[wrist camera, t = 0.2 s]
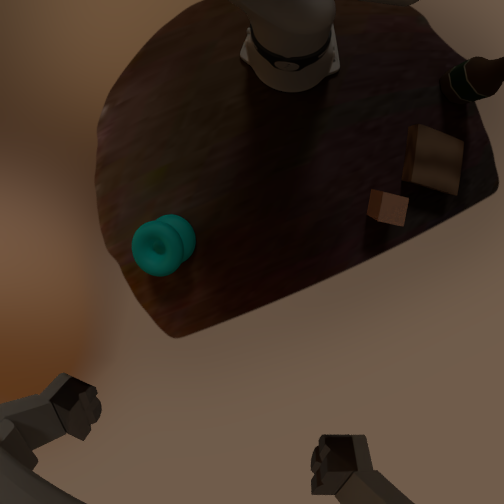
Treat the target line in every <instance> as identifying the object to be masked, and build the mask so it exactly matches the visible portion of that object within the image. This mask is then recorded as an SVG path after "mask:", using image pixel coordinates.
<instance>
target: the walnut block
mask: <svg viewBox="0 0 504 504" xmlns="http://www.w3.org/2000/svg"><path fill="white" fill-rule="evenodd" d="M463 149H464V141H461V140H459V139H457V138H455V137H452V136H450V135H447V134H445V133H442V132H440V131H437V130H435V129H432V128H429V127H427V126H424V125H421V124H415V125H412V126H409V128H408V137H407V146H406V153H405V161H404V168H403V174H402V181H406V182H409V183H413V184H416V185H420V186H423V187H426V188H430V189H433V190H436V191H439V192H442V193H445V194H450V195H455V196H457V194H458V188H459V182H460V175H461V167H462V159H463Z"/></svg>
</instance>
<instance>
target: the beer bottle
mask: <svg viewBox="0 0 504 504" xmlns="http://www.w3.org/2000/svg"><path fill="white" fill-rule="evenodd" d="M503 81H504V57H502V58H499V59H495V60H488V59H485V58H483V57H473V58H471V59H469V60H467V61H465V62H463V63H461V64H459V65H457V66H455V67H454V68H452V69H450V70H448V71H447V72H446V73H445V74H444V75H443V76H442V77H441V78H440V85H441V92H442V93H443V94H444V95H445V96H446V98H447V99H448V100H449V101H450V102H452V103H457V104H466V103H469V102H473V101H476V100H480V99H483V98H487V97H490V96H492V95H494V94H495V93H496V92H497V91H498V89H499V88H500V86H501V85H502V82H503Z"/></svg>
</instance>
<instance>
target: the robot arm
mask: <svg viewBox="0 0 504 504" xmlns="http://www.w3.org/2000/svg"><path fill="white" fill-rule="evenodd" d="M228 1H230V2H231V3H233V4H235V5H236V6H238V7H239V8H240V9H242V10H243V11H244V12H245V13H246V14H247V15H248V18H249V20H250V22H251V24H250V28H248V29H247V34H248V35H247V38H246V40H245V42H244V45H243V47H242V49H241V52H240V57H241V59H242V60H243V61H245V62H246V63H248V64H249V65H250V66H251V67H252V68H253V70H254V71H255V73H256V75H257V76H258V77H259V79H260V80H261V81H262V82H264V83H265V84H266V85H268V86H270V87H271V88H274V89H276V90H279V91H284V92H301V91H305V90H308V89H310V88H312V87H314V86H315V85H317V84H318V83H319V82H320V81H321V80H322V79H323V78H324V77H326V76H328V75H331V74H333V73H336V72H337V71H339V69H340V62H339V55H338V49H337V43H336V37H335V31H334V26H333V21H334V18H335V14H336V6H335V2H334V0H228ZM359 1H367V2H375V3H382V4H390V5H397V6H409V5H411V4H414V3H415V2H417V1H419V0H359ZM333 60H334V61H335V62H333ZM96 395H97V390H96V387H94V386H92V385H90V384H87V383H85V382H83V381H80V380H79V379H76V378H74V377H72V376H70V375H68V374H66V373H61V374H59V375H58V376H57V377H56V378H55V379H54V380H53V382H52V383H51V384H50V385H49V386H48V387H47V388H46V389H45V390H44V391H43V392H42V393H41V394H40V395H38V394H35V395H31V396H28V397H25V398H21V399H17V400H14V401H10V402H6V403H2V404H0V504H86V503H84V502H82V501H80V500H79V499H77V498H75V497H73V496H71V495H70V494H67V493H66V492H64V491H63V490H61V489H59V488H57V487H56V486H54V485H53V484H51V483H49V482H48V481H46V480H45V479H43V478H42V477H40V476H39V475H37V474H36V473H34V472H33V471H32V470H33V469H34V467H35V466H36V465H37V463H38V459H37V457H36V456H35V454H34V453H33V452H32V450H34V449H36V448H38V447H40V446H42V445H44V444H47V443H48V442H51V441H53V440H54V439H57V438H59V437H61V436H63V435H65V434H66V433H68V434H70V435H72V436H74V437H76V438H78V439H80V440H82V441H84V440H85V438H86V437H87V435H88V434H89V432H90V431H91V424H93V423H96V422H97V420H98V419H99V417H100V414H101V410H102V409H101V402H100V401H99V399H98V398H97V397H96ZM311 471H312V472H313V473H314V474H315V475H314V476H313V478H312V480H311V489H312V491H311V492H312V495H335V497H336V498H337V499H338V501H339V502H340V504H414V503H413V502H412V501H411V500H409V499H408V498H407V497H406V496H405V495H404V494H403V493H401V491H399V490H398V489H397V488H396V487H395V486H394V485H393V484H392V483H390V482H389V481H388V480H387V479H386V478H385V477H384V476H383V475H382V474H381V473H379V472H378V471H377V470H373V467H372V462H371V457H370V453H369V448H368V444H367V439H366V436H365V435H322V436H321V437H320V439H319V446H317V447H316V448H315V449H314V452H313V454H312V458H311Z"/></svg>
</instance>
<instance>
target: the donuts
mask: <svg viewBox="0 0 504 504" xmlns="http://www.w3.org/2000/svg"><path fill="white" fill-rule="evenodd" d="M195 244H196V237H195V233H194V230H193V228H192V226H191V225H190V224H189V222H188V221H187V220H185V219H184V218H182V217H180V216H177V215H172V214H169V215H164V216H161V217H159V218H158V219H157V220H156V221H150V222H147V223H145V224H143V225H142V226H140V227H139V228H138V230H137V231H136V232H135V234H134V237H133V240H132V253H133V256H134V259H135V261H136V263H137V264H138V266H139V267H140V268H141V269H142V270H143V271H145V272H146V273H148V274H150V275H153V276H158V277H161V276H167V275H170V274H172V273H173V272H175V271H176V270H177V269H178V268H179V266H180V265H181V263H182V262H184V261H186V260H187V259H188V258H189V257H190V256H191V255H192V253H193V251H194V249H195Z"/></svg>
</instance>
